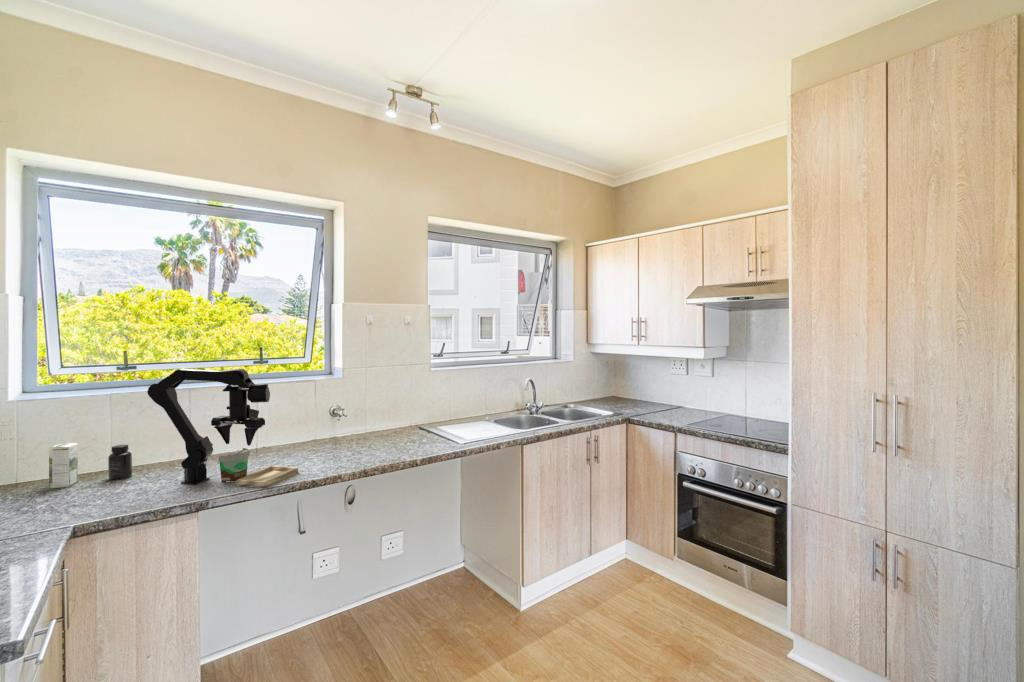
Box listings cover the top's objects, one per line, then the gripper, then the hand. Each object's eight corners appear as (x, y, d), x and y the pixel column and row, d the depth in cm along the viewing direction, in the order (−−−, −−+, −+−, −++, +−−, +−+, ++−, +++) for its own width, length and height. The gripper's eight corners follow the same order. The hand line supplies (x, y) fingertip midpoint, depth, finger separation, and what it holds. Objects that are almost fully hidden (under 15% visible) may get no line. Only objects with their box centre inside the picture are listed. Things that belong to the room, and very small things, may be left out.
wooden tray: (235, 485, 166) (235, 480, 166) (271, 470, 184) (271, 465, 184) (265, 488, 164) (265, 482, 164) (298, 472, 182) (298, 467, 182)
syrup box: (57, 483, 168) (57, 443, 168) (78, 481, 170) (77, 442, 170) (48, 488, 163) (47, 447, 162) (70, 486, 165) (69, 446, 164)
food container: (232, 484, 168) (232, 457, 167) (218, 483, 169) (217, 456, 169) (257, 474, 180) (257, 448, 179) (244, 473, 181) (243, 447, 181)
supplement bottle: (136, 475, 177) (136, 444, 177) (117, 481, 171) (116, 448, 170) (123, 474, 179) (123, 443, 179) (103, 479, 173) (103, 447, 172)
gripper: (275, 400, 180) (275, 441, 180) (233, 398, 183) (233, 438, 184) (253, 405, 169) (254, 448, 169) (209, 403, 172) (210, 445, 173)
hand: (238, 444), depth 174 cm, fingers open, 9 cm apart
